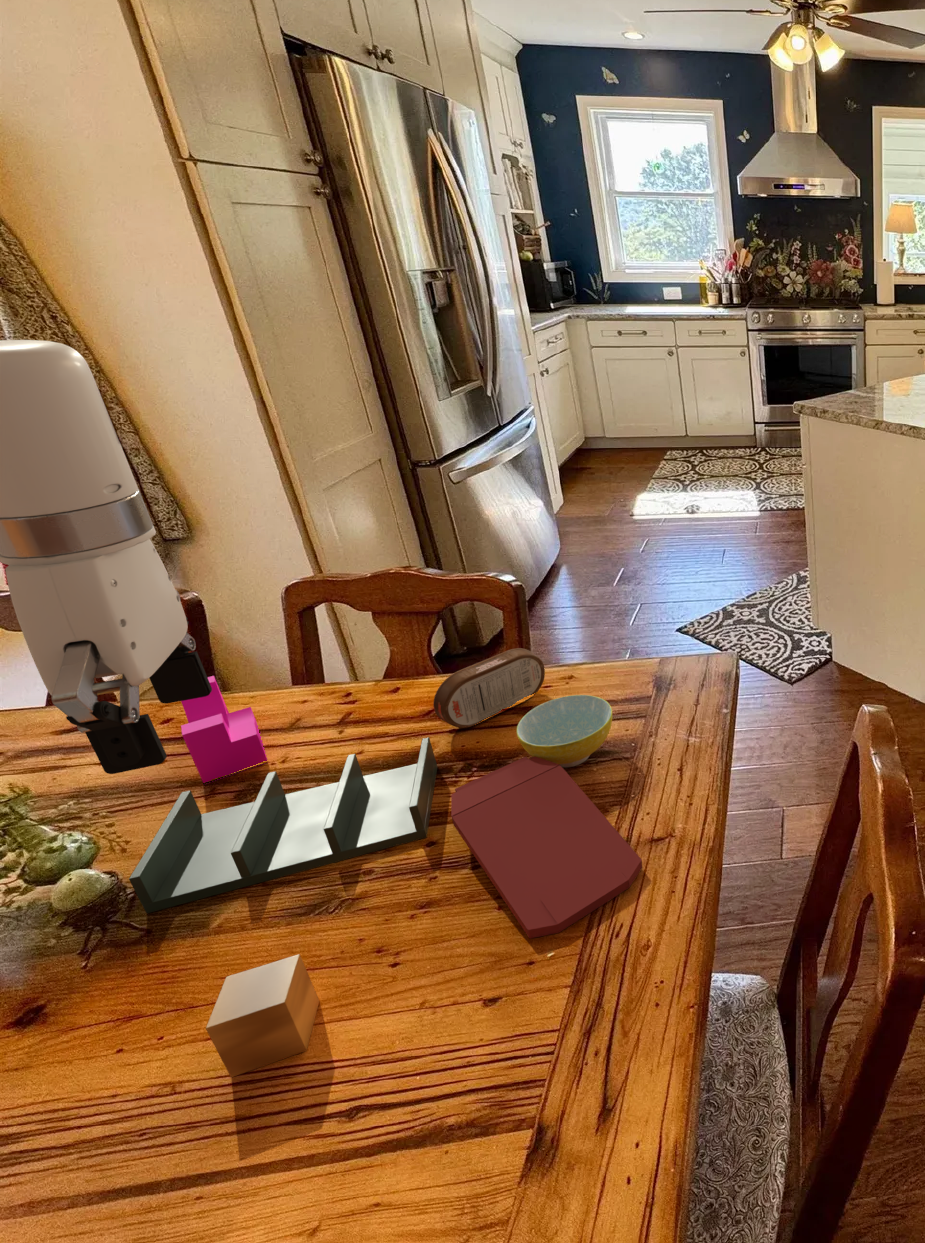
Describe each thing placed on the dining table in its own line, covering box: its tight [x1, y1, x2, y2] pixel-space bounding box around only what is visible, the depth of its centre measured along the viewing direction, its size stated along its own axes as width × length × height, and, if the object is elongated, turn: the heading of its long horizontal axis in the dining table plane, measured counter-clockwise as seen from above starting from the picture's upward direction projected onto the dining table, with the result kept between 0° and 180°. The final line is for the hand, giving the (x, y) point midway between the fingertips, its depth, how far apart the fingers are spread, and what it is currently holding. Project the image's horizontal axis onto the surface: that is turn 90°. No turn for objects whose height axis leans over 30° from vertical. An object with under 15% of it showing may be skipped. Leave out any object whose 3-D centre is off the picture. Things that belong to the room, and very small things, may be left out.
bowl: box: [516, 694, 613, 768], centre depth 97 cm, size 11×12×6 cm
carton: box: [450, 756, 643, 939], centre depth 83 cm, size 12×5×25 cm
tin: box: [433, 647, 546, 729], centre depth 106 cm, size 15×3×8 cm, turn 148°
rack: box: [128, 737, 438, 914], centre depth 84 cm, size 24×14×5 cm, turn 117°
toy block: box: [180, 675, 269, 785], centre depth 98 cm, size 15×6×8 cm, turn 45°
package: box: [205, 953, 320, 1078], centre depth 62 cm, size 5×5×6 cm
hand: (164, 730), depth 57 cm, fingers open, 9 cm apart
